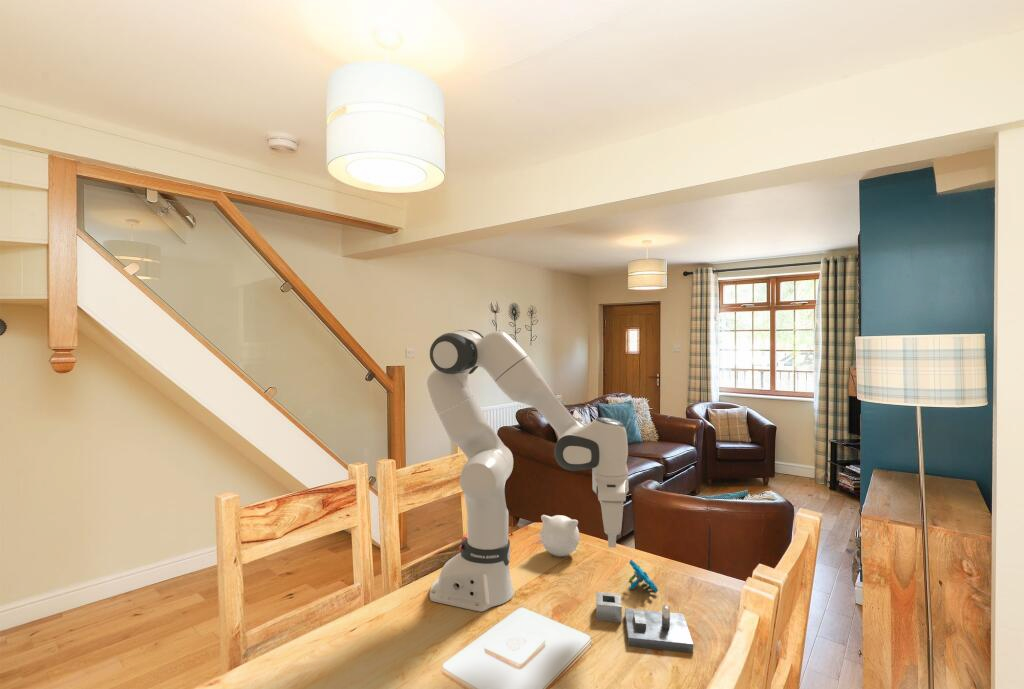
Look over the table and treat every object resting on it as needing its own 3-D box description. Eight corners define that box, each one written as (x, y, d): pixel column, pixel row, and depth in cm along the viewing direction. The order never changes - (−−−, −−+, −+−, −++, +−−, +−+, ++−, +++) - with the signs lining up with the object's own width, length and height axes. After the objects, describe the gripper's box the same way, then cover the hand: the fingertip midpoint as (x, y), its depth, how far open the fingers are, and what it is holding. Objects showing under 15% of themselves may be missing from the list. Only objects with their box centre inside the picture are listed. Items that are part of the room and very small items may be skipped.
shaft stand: (628, 646, 113) (628, 617, 113) (624, 616, 125) (625, 590, 125) (693, 652, 111) (693, 624, 111) (683, 621, 123) (683, 595, 123)
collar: (596, 620, 123) (596, 604, 123) (596, 607, 129) (596, 591, 129) (621, 622, 122) (621, 606, 122) (619, 609, 128) (620, 593, 128)
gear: (663, 593, 133) (636, 565, 134) (647, 609, 133) (620, 580, 134) (654, 579, 144) (629, 552, 145) (639, 593, 144) (614, 567, 145)
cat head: (587, 549, 163) (588, 512, 163) (578, 567, 151) (578, 527, 150) (543, 542, 168) (544, 506, 168) (530, 558, 156) (531, 519, 156)
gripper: (596, 471, 136) (597, 522, 137) (598, 496, 116) (599, 555, 116) (620, 472, 135) (621, 522, 136) (626, 496, 115) (627, 556, 115)
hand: (611, 538), depth 126 cm, fingers open, 8 cm apart
